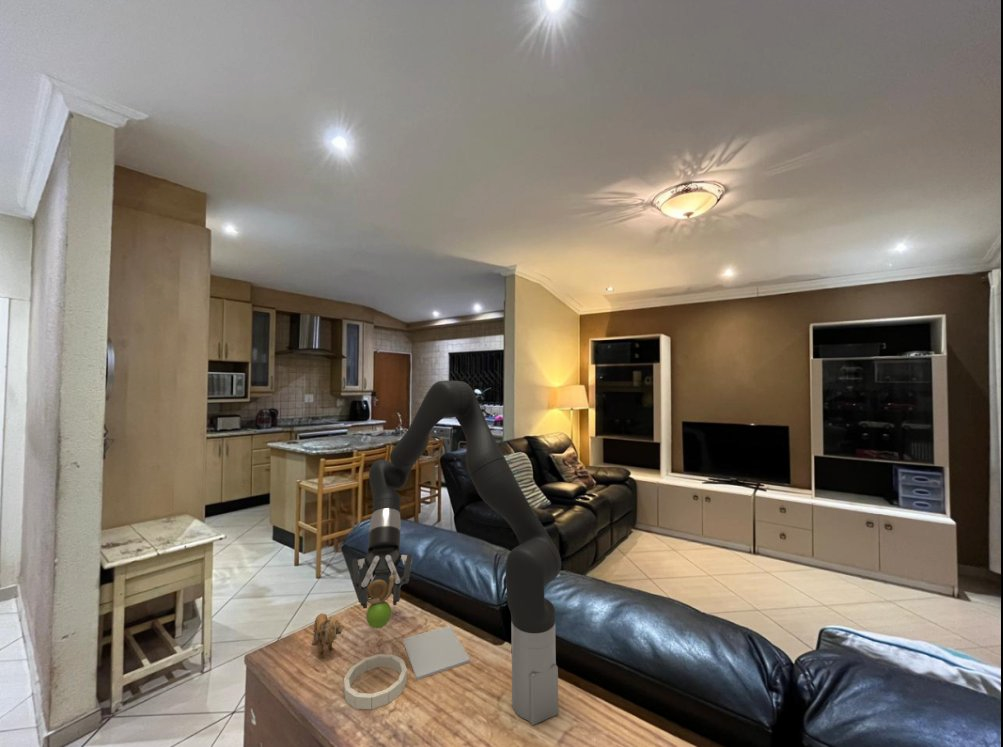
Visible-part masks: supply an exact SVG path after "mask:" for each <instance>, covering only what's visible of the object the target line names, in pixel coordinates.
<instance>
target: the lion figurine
mask: <svg viewBox="0 0 1003 747" xmlns="http://www.w3.org/2000/svg"><path fill="white" fill-rule="evenodd" d="M314 624H315V625H313V627H314V630H312V631H313V633H314V635H313V640H312V645H313V646H315V645H318V655H317V656H318V659H321V658H324V656H325V652H324V646H325V647H326V646H327V651H328V652H329V653H333V652H334V651H335V648H334V647H333V642H335V640H336V639H337V635H339V636H341V634H342V632H343V629H344V625H342V624H340V622H338V621H337V618H335V617H334V618H328V615H327V614H325V613H323V612H321V613H319V614H318V615H317V616H316V617H315V620H314Z"/></svg>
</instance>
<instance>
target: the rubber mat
mask: <svg viewBox="0 0 1003 747" xmlns="http://www.w3.org/2000/svg"><path fill="white" fill-rule="evenodd" d="M403 642H404V643H403ZM402 643H403V646H404V645H405V646H404V648H406V649H405V652H406V651H407V652H406V654H408V655H407V658H408V660H409V662H410V665H411V668H412V669H411V670H412V671H413V674H414V677H415V680H416V681H418V680H421V679H424V678H426V677H430V676H434V675H436V674H438V673H441V672H442V673H443V672H445V671H448V670H450V669H454V668H456V667H459V666H463V665H466V664H469V663H471V658H470V657H469V654H468V653H467V652H466V649H465V648H464V646H463V645H462V642H461V641H460V639H459V638H458V636H457V634H456V632H455V630H454V629H453V627H452V625H447V626H444V627H440V628H436V629H433V630H428V631H426V632H422V633H419V634H415V635H412V636H409V637H404V638H402Z"/></svg>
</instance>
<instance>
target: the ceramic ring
mask: <svg viewBox="0 0 1003 747" xmlns="http://www.w3.org/2000/svg"><path fill="white" fill-rule="evenodd" d="M377 668H385V669H387V668H389V669H392V670H395V671H396V672H398V673H399V677H398V679H397V680H396V681H395V682H394V683H392V684H391V685H390V686H389V687H388V688H386V689H384V690H380V691H377V692H374V693H364V692H363V693H361V692H358V691H357V690H355V689H353V688H352V687H351V686H352V685H353V683H354V682H355V680H356V679H357V678H359V677H360V676H361V675H363V674H364V673H366V672H368V671H371V670H375V669H377ZM407 673H408V670H407V666H406V663H405V661H404V659H402V658H401V657H399V656H397V655H395V654H392V653H391V654H387V653H378V654H374V655H372V656H368V657H365V658H363V659H362V660H360V661H358V662H357V663H355V664H353V665H352V666H351V667H350V668H349V670H348V671H347V673H346V675H345V676H344V678H343V694H344V701H345V703H347V704H348V705H350V707H353V709H355V710H374V709H378V708H380V707H383V706H386V705H389V704H390V703H392V702H393V701H394V700H395V699H396V698H398V697H399V696H400V695H402V693H403V692H404V691H403V690H404V688H405V687H406V684H407V682H408V681H407V680H408V674H407Z"/></svg>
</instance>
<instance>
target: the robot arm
mask: <svg viewBox="0 0 1003 747" xmlns="http://www.w3.org/2000/svg"><path fill="white" fill-rule="evenodd" d="M483 413H484V412H483V411H482V408H481V405H480V403H479V401H478V397H477V395H476V393H475V392H474V390H473V389H472V387H471V386H470V384H468V383H467V382H465V381H461V380H438V381H436V382H434V384H432V385H431V387H430V388H429V389H428V391H427V392H426V395H425V396H424V398H423V400H422V402H421V404H420V405H419V407H418V410H417V412H416V413H415V415H414V418H413V420H412V421H411V424H409V427H408V429H407V430H406V432H405V433H404V434H403V436H402V437H401V438H400V440H399V441H398V442H397V444H396V445H395V446H394V447H393V449H392V450H391V452H390V453H389V454H390V455H389V460H385V459H378V460H376V461H374V462H373V463H372V465H371V467H370V469H369V473H368V480H369V486H370V490H371V495H372V501H373V503H372V513H371V518H370V524H369V533H368V543H367V544H368V545H367V552H366V555H365V557H364V558H360V559H358V558H357V557H355V558H353V559H352V561H351V562H352V563H351V564H352V582H353V586H354V588H355V589H357V590H360V596H359V597H360V598H359V603H360V606H361V607H362V608H363V609H368V603H369V602H368V601H367V599H369V596H368V594H367V588H368V586H369V584H370V583H371V582H373V581H374V580H375V577H379V576H391V575H395V576H396V577H395V581H394V587H393V591H392V594H393V596H392V597H393V598H392V605H393V606H397V603H400V600H401V587H402V586H403V585H407V584H408V583H409V581H410V577H411V569H412V565H413V555H412V553H407V555H406V554H402V553H401V551H400V550H401V530H402V527H401V525H402V524H401V523H402V521H401V520H402V519H401V502H402V501H401V500H402V499H401V495H400V493H398V492H397V490H399V489H402V488H404V487H405V486H406V484H407V482H408V479H409V476H410V474H411V471H412V469H413V467H414V465H415V464H416V463H417V461H418V460H419V459H420V458H421V457H422V455H423V454H424V453H425V451H426V450H427V447H428V445H429V439H430V433H431V431H432V429H433V428H435V426H436V425H437V424H438V423H439V422H440V421H441V420H443V419H447V418H448V419H449V418H451V419H452V418H454V419H456V421H457V422H458V425H460V428H461V429H462V432H463V434H464V437H465V441H466V442H465V443H466V449H465V450H466V453H465V454H466V455H465V456H466V457H465V462H466V464H465V465H466V470H467V472H468V475H469V478H470V479H471V481H472V484H473V486H474V487H475V490H476V492H477V494H478V496H479V497H480V498H481V499H482V501H483V502H484V503H485V504H487V505H488V506H489V507H490V508H491V509H492V510H493V511H494V512H495V513H496V514H498V515H499V516H500V517H502V518H503V519H504V520H505V522H506V523H507V524H508V525H509V527H510V528H511V529H512V531H513V533H514V534H515V537H516V538H517V541H518V546H516V547H514V548H513V549H511V551H510V552H509V553H508V555H507V558H506V562H505V585H506V600H507V601H506V602H507V606H508V609H509V611H510V616H511V617H510V620H511V623H510V624H511V625H510V626H511V642H510V643H511V644H510V645H511V704H512V705H511V706H512V708H513V710H514V712H515V714H517V715H518V717H520V718H521V719H524V720H526V721H528V722H529V723H530V724H531V725H533V726H535V725H536V724H540V722H543V721H546V720H548V719H550V718H553V717H554V716H557V715H559V671H558V670H559V668H558V665H557V661H556V659H557V658H556V656H557V655H556V609H555V606H554V604H553V603H552V602H551V601H550V600H549V599H547V598H545V586H548V584H550V583H551V582H552V581H553V580H555V579H556V578H557V577H558V576H559V574H560V572H561V569H562V558H561V556H560V552H559V550H558V548H557V546H556V544H555V543H554V541H553V539H552V537H551V536H550V535H549V533H548V532H547V530H546V528H545V527H544V525H543V524H542V522H541V521H540V519H539V518H538V517H537V515H536V513H535V511H534V510H533V508H532V507H531V504H530V502H529V500H528V499H527V498H526V496H525V493H524V492H523V490H522V488H521V486H520V485H519V483H518V481H517V479H516V477H515V475H514V472H513V470H512V468H511V466H510V465H509V462H508V461H507V459H506V457H505V455H504V454H503V452H502V450H501V449H500V447H499V445H498V443H497V440H496V439H495V437H494V435H493V432H492V431H491V429H490V426H489V425H488V422H487V420H486V418H485V415H484V414H483ZM401 561H402V564H403V566H404V571H403V575H402V576H401V577H400V576H399V574H398V571H397V567H398V565H399V564H400V562H401ZM364 565H366V567H367V568H368V569H367V571H366V573H365V577H364V579H363V580H361V578H360V576H361V575H360V574H361V573H360V570H362V569H363V566H364ZM393 569H395V571H396V572H395V573H394V572H393Z"/></svg>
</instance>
